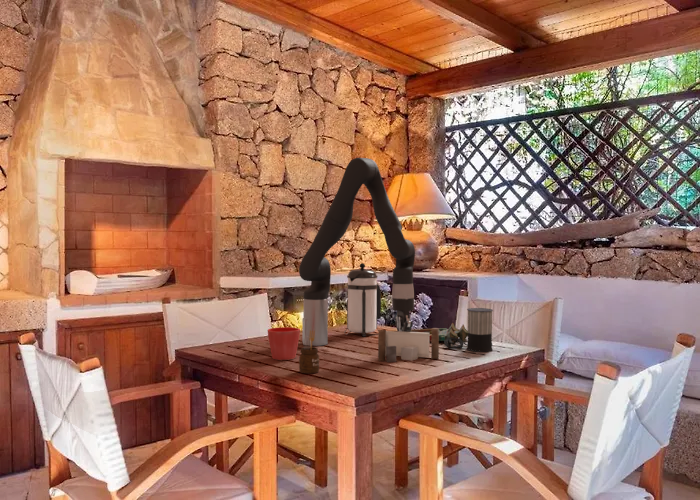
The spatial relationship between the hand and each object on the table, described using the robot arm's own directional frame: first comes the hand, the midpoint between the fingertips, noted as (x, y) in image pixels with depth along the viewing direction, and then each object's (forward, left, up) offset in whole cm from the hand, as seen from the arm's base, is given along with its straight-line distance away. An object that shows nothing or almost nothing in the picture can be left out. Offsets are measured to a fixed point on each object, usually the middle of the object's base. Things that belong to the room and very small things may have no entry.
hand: (403, 346), depth 211 cm
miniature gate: (+22, +29, -3) cm, 37 cm away
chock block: (-1, -9, -3) cm, 9 cm away
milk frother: (+26, +4, -3) cm, 27 cm away
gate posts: (-1, -10, -3) cm, 11 cm away
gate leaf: (-1, -5, -2) cm, 6 cm away
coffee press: (-3, +47, -3) cm, 48 cm away
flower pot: (-42, +1, -3) cm, 42 cm away
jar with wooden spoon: (-37, -22, -3) cm, 43 cm away
